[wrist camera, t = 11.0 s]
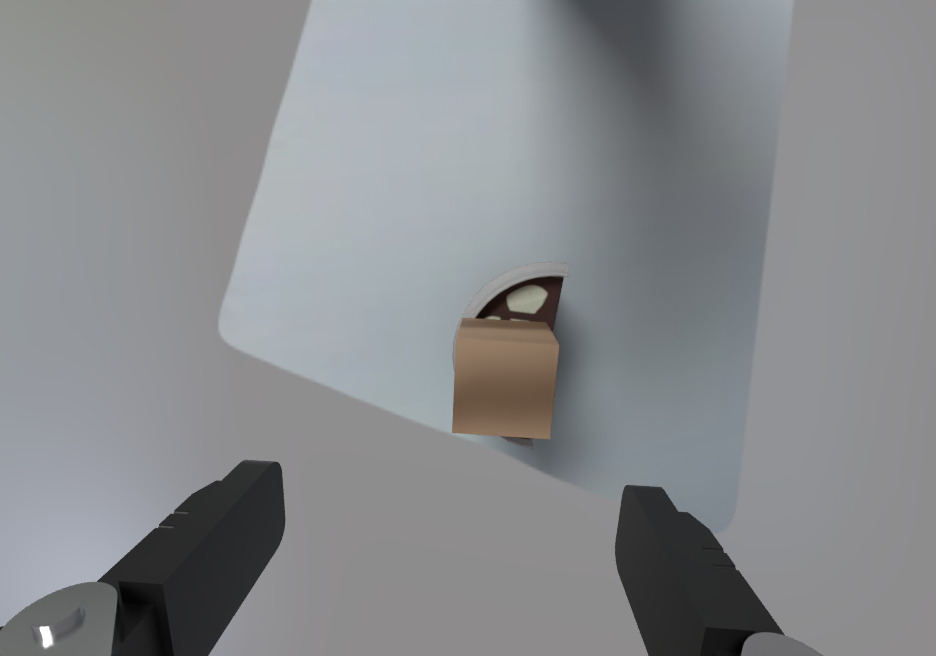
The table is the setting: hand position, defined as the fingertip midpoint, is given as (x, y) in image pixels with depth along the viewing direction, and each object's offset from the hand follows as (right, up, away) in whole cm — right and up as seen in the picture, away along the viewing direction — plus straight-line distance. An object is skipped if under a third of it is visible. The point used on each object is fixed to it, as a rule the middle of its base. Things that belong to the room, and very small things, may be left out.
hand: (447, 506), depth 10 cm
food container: (+3, +5, +26) cm, 27 cm away
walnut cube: (+3, +2, +16) cm, 17 cm away
